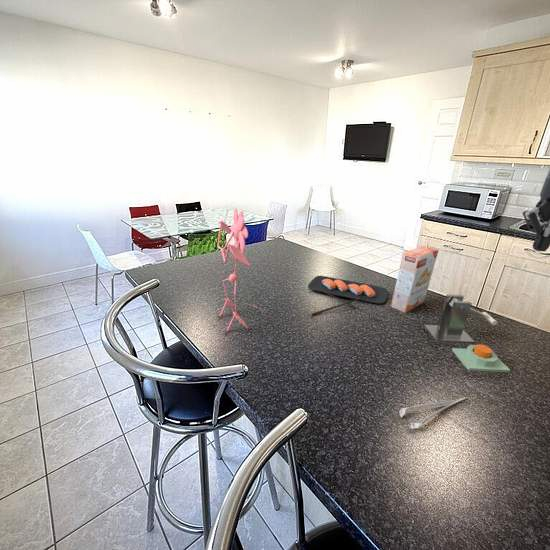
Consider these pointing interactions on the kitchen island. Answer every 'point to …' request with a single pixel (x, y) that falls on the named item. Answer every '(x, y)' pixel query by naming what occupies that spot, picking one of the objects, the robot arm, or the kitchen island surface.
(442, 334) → the bracket
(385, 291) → the sushi plate
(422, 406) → the tweezers
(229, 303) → the figurine
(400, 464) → the kitchen island surface
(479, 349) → the button
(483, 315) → the lever
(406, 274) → the cracker box
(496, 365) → the button block
